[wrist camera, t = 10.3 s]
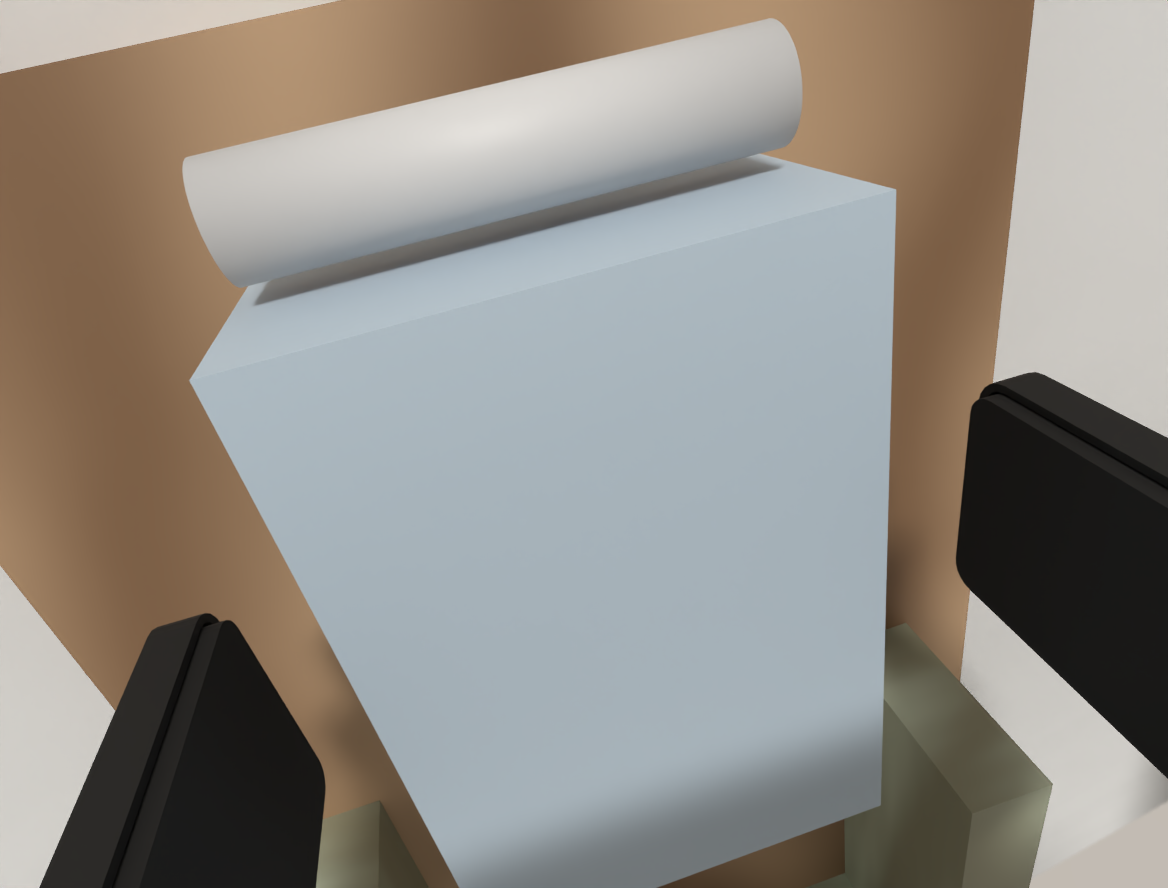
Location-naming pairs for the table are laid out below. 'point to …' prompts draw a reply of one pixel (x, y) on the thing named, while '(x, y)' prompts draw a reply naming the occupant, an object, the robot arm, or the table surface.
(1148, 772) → the table surface
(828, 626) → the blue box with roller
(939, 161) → the dock
